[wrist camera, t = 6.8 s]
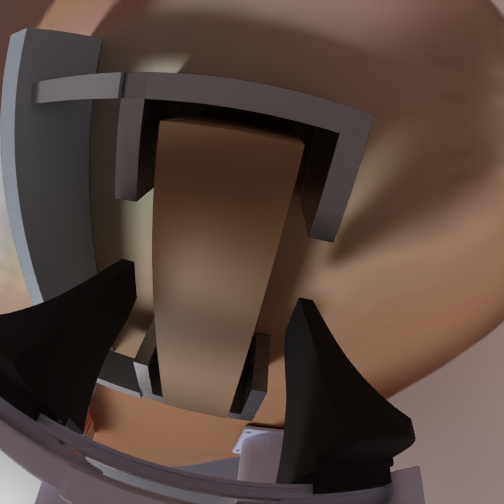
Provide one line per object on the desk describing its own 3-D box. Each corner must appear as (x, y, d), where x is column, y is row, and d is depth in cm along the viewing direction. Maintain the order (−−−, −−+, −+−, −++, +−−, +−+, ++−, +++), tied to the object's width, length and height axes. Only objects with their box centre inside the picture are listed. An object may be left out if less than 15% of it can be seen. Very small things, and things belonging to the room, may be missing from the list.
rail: (237, 352, 18) (227, 418, 13) (184, 341, 18) (164, 403, 13) (292, 127, 10) (304, 145, 6) (206, 112, 10) (159, 121, 6)
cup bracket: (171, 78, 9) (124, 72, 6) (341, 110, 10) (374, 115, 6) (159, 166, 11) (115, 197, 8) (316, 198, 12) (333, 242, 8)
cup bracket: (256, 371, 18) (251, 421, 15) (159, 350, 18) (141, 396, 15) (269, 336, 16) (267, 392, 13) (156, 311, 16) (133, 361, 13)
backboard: (160, 366, 19) (141, 420, 15) (103, 347, 19) (78, 396, 15) (181, 34, 8) (122, 1, 4) (86, 41, 8) (11, 34, 4)
